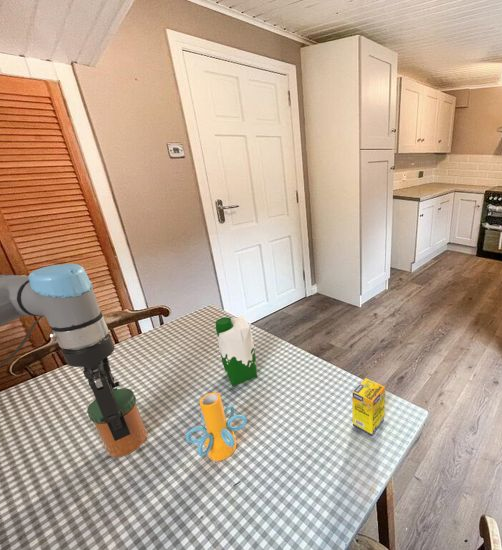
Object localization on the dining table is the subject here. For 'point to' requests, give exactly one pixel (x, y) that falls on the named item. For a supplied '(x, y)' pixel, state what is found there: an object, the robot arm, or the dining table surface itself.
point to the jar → (127, 442)
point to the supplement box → (368, 406)
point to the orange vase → (216, 428)
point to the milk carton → (236, 349)
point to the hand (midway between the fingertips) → (120, 424)
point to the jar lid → (124, 402)
